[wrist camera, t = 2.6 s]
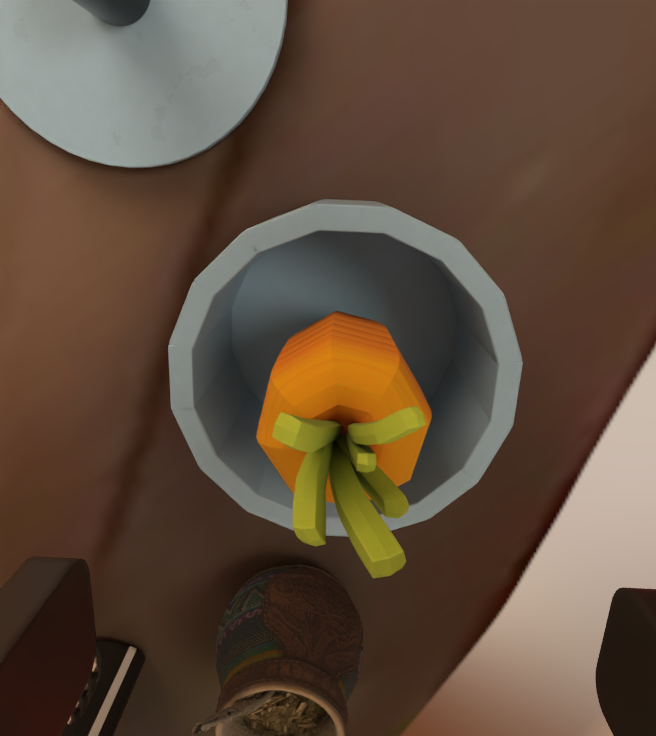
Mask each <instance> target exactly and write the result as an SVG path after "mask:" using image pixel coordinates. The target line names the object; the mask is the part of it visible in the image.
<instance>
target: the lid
mask: <svg viewBox="0 0 656 736" xmlns="http://www.w3.org/2000/svg"><path fill="white" fill-rule="evenodd" d="M287 9H288V0H0V98H1V99H2V100H3V102H4V103H5V104H6V105H7V106H8V107H9V108H10V109H11V111H12V112H13V113H14V114H15V115H16V116H17V117H19V118H20V119H21V120H22V121H23V122H24V123H25V124H26V125H27V126H28V127H30V128H31V129H32V130H33V131H35V132H36V133H38V134H39V135H40V136H42V137H43V138H45V139H46V140H47V141H49V142H50V143H52V144H54V145H56V146H58V147H60V148H61V149H63V150H65V151H67V152H69V153H71V154H74V155H76V156H79V157H81V158H84V159H86V160H89V161H93V162H97V163H101V164H105V165H109V166H118V167H127V168H152V167H158V166H164V165H170V164H174V163H177V162H180V161H183V160H186V159H189V158H192V157H194V156H196V155H198V154H200V153H202V152H204V151H206V150H208V149H209V148H211V147H212V146H214V145H215V144H217V143H218V142H220V141H221V140H223V139H224V138H225V137H226V136H228V135H229V134H230V133H231V132H232V131H233V130H234V129H235V128H236V127H237V126H238V125H240V123H241V122H242V121H243V120H244V119H245V117H246V116H247V115H248V114H249V113H250V111H251V110H252V109H253V108H254V106H255V105H256V103H257V101H258V100H259V98H260V97H261V95H262V94H263V92H264V90H265V89H266V86H267V84H268V82H269V80H270V78H271V76H272V73H273V71H274V69H275V66H276V63H277V60H278V57H279V54H280V51H281V47H282V43H283V38H284V33H285V27H286V22H287Z"/></svg>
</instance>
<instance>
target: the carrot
mask: <svg viewBox="0 0 656 736" xmlns="http://www.w3.org/2000/svg"><path fill="white" fill-rule="evenodd" d="M431 418H432V412H431V409H430V407H429V405H428V403H427V401H426V398H425V396H424V394H423V392H422V390H421V388H420V386H419V384H418V383H417V381H416V379H415V377H414V376H413V374H412V372H411V370H410V369H409V367H408V365H407V363H406V362H405V360H404V358H403V356H402V355H401V353H400V351H399V349H398V347H397V346H396V344H395V342H394V340H393V339H392V337H391V335H390V333H389V332H388V330H387V328H386V326H384V325H382V324H381V323H379V322H377V321H374V320H371V319H367V318H363V317H359V316H356V315H352V314H348V313H344V312H340V311H335V312H333V313H331V314H329V315H328V316H326V317H324V318H322V319H321V320H319V321H317V322H315V323H314V324H312V325H310V326H308V327H307V328H305V329H303V330H301V331H300V332H298V333H296V334H295V335H294V336H292V337H291V338H289V339H288V341H287V343H286V344H285V346H284V347H283V349H282V351H281V352H280V354H279V356H278V358H277V360H276V363H275V365H274V367H273V369H272V371H271V375H270V380H269V384H268V388H267V392H266V396H265V400H264V404H263V409H262V413H261V417H260V421H259V425H258V429H257V435H256V438H257V440H258V443H259V444H260V446H261V447H262V449H263V450H264V452H265V453H266V455H267V456H268V458H269V459H270V461H271V462H272V464H273V465H274V467H275V468H276V469H277V471H278V472H279V474H280V475H281V477H282V478H283V480H284V481H285V483H286V484H287V486H288V487H289V489H290V490H291V492H292V493H294V500H293V529H294V531H295V534H296V536H297V537H298V538H299V539H300V540H301V541H302V542H304V543H306V544H309V545H312V546H319V545H324V544H326V501H327V502H331V503H335V505H336V509H337V512H338V515H339V517H340V520H341V522H342V524H343V526H344V528H345V530H346V532H347V534H348V536H349V538H350V540H351V542H352V544H353V546H354V548H355V550H356V552H357V554H358V555H359V557H360V559H361V560H362V562H363V563H364V565H365V567H366V568H367V570H368V571H369V573H370V575H371V576H372V578H378V577H386V576H390V575H392V574H393V573H395V572H396V571H398V570H400V569H401V568H403V566H404V564H405V563H406V559H405V555H404V551H403V550H402V548H401V546H400V545H399V543H398V542H397V540H396V539H395V537H394V536H393V534H392V532H391V531H390V529H389V528H388V526H387V525H386V523H385V522H384V520H383V519H382V517H381V516H380V515H379V513H378V512H377V510H376V509H375V507H374V506H373V505H372V503H371V502H370V500H371V499H372V501H373V502H374V503H375V504H376V506H377V507H378V508H379V509H380V511H381V512H382V513H383V514H384V516H385V517H387V518H400V517H402V516H403V515H404V514H406V513H407V511H408V509H409V504H408V501H407V499H406V496H405V495H404V494H403V492H402V491H401V490H400V489H399V488H398V487H397V486H399V485H401V484H403V483H405V482H407V481H409V480H410V479H411V476H412V473H413V470H414V467H415V465H416V462H417V459H418V456H419V453H420V450H421V447H422V444H423V441H424V438H425V436H426V433H427V430H428V427H429V424H430V421H431Z"/></svg>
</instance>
